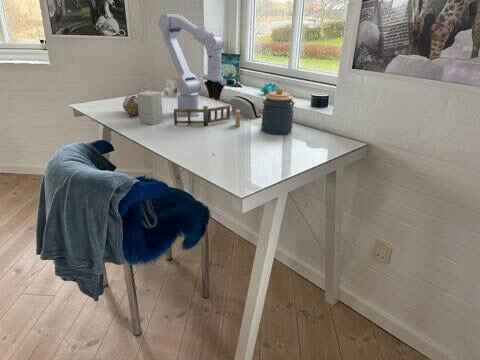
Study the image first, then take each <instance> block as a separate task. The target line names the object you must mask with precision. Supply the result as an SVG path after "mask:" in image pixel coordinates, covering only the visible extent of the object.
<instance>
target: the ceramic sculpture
mask: <svg viewBox="0 0 480 360" xmlns="http://www.w3.org/2000/svg"><path fill="white" fill-rule="evenodd" d="M122 107H123V109H124V111H125V112H127V113H128V115H129V116H132V117H134V116H139V110H138V100H137V96H135V95H131V96H129V95H126V97H125V98H124V101H123V103H122Z"/></svg>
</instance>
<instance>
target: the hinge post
mask: <svg viewBox="0 0 480 360" xmlns="http://www.w3.org/2000/svg"><path fill="white" fill-rule="evenodd" d="M202 109H203V110H204V112H202V113H203V116H202V117H203V120H202V121H204V124H203V127H208V126H209V123H208V109H209V106H207V105H205V106H203V107H202Z"/></svg>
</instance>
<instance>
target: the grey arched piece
mask: <svg viewBox="0 0 480 360" xmlns="http://www.w3.org/2000/svg"><path fill="white" fill-rule="evenodd" d="M229 101H230V108H231V111H232V112H233V111H234V113H236V110H240V116H241V115H242V116H244V117H248V118H250V119H253V120H255V119H256V117H258V118H262V114H261V113H260V112H259V111H258V106H257V103H256V101H255V100H253V99H252V98H249V97H247V96H246V95H243V94H242V95H241V94H237V95H234V96H233V97H231V98H230V100H229Z"/></svg>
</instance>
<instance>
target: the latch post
mask: <svg viewBox="0 0 480 360" xmlns="http://www.w3.org/2000/svg"><path fill="white" fill-rule="evenodd" d="M240 126H241V114H240V110H236V112H235V127H236V128H240Z"/></svg>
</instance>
